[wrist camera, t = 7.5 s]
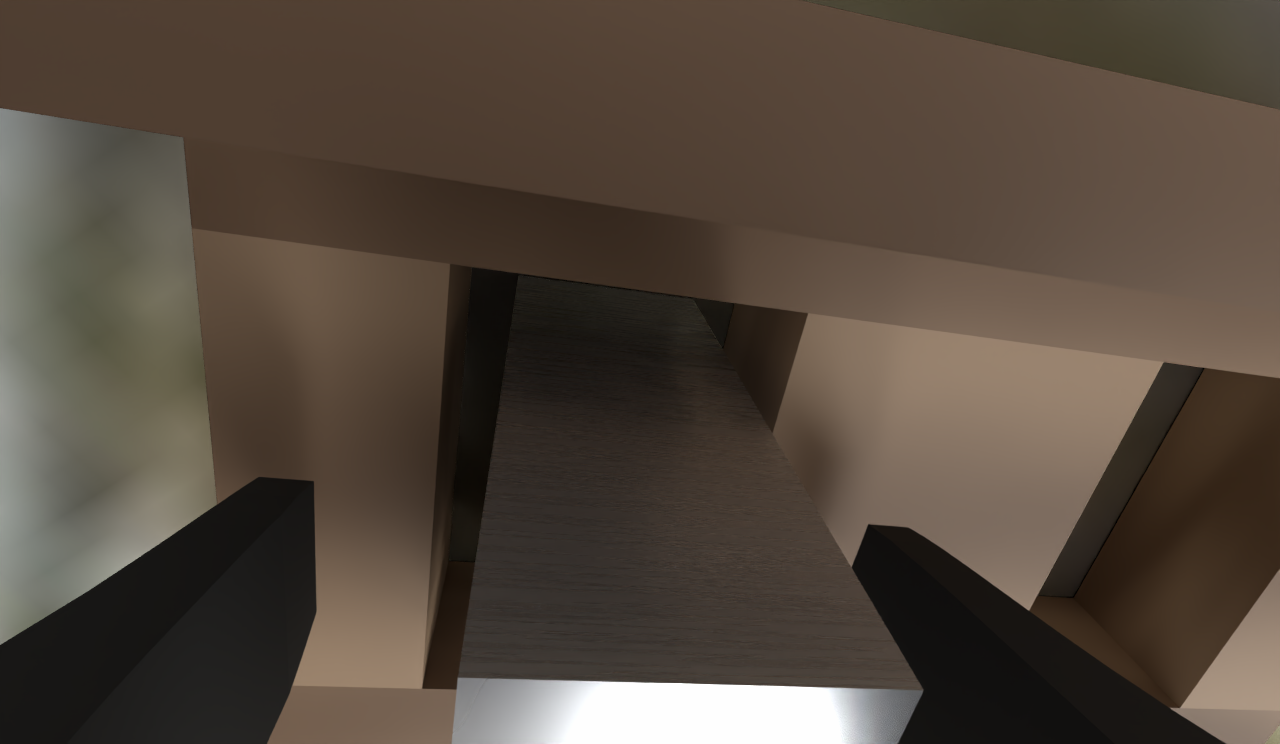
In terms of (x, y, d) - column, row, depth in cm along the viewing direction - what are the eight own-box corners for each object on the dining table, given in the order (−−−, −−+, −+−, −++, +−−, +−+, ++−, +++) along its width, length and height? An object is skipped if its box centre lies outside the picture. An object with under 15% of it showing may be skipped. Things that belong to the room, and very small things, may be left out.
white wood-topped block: (631, 576, 14) (716, 1117, 7) (486, 567, 14) (413, 1145, 6) (692, 299, 12) (924, 690, 4) (518, 274, 11) (458, 677, 4)
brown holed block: (1140, 648, 17) (1413, 922, 12) (302, 610, 13) (134, 984, 8) (1434, 195, 12) (2110, 299, 7) (281, -48, 9) (-148, -215, 3)
